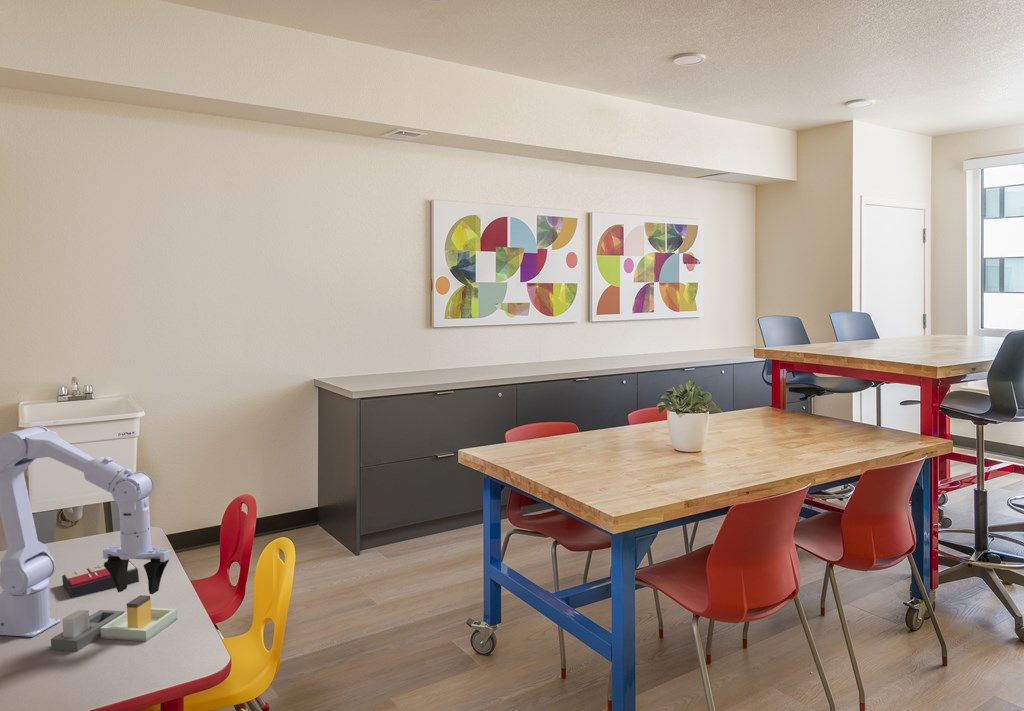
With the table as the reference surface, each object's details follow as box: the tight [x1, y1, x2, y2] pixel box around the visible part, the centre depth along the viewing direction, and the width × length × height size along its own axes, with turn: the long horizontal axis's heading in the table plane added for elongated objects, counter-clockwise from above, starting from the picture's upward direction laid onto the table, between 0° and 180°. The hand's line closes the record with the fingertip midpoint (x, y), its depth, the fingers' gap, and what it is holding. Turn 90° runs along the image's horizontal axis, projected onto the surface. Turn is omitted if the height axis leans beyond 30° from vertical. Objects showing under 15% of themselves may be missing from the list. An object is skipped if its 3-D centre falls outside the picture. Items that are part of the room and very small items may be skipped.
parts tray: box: [100, 607, 178, 642], centre depth 154 cm, size 11×11×2 cm
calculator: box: [61, 560, 140, 599], centre depth 180 cm, size 11×4×15 cm
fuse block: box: [50, 609, 125, 652], centre depth 151 cm, size 6×14×2 cm, turn 171°
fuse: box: [61, 609, 90, 638], centre depth 148 cm, size 2×4×6 cm, turn 171°
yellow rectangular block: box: [126, 594, 152, 629], centre depth 154 cm, size 2×4×6 cm, turn 172°
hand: (138, 591), depth 154 cm, fingers open, 7 cm apart
